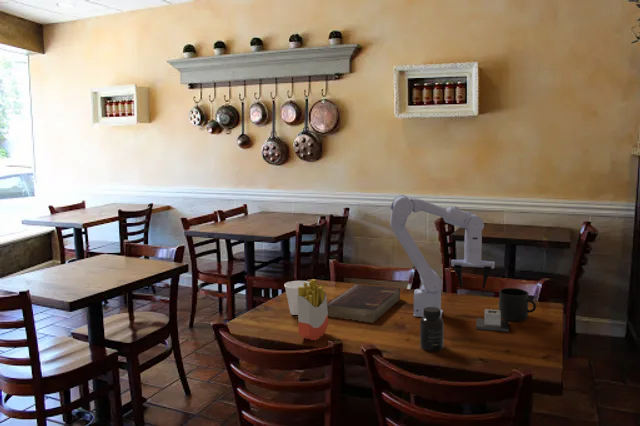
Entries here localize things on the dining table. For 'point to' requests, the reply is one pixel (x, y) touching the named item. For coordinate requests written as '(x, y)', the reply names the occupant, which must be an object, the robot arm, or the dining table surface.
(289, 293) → the cup
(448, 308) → the dining table surface
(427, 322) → the supplement bottle
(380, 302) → the hardback book
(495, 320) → the gray square hollow block
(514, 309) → the mug
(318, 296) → the french fries container
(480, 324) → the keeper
